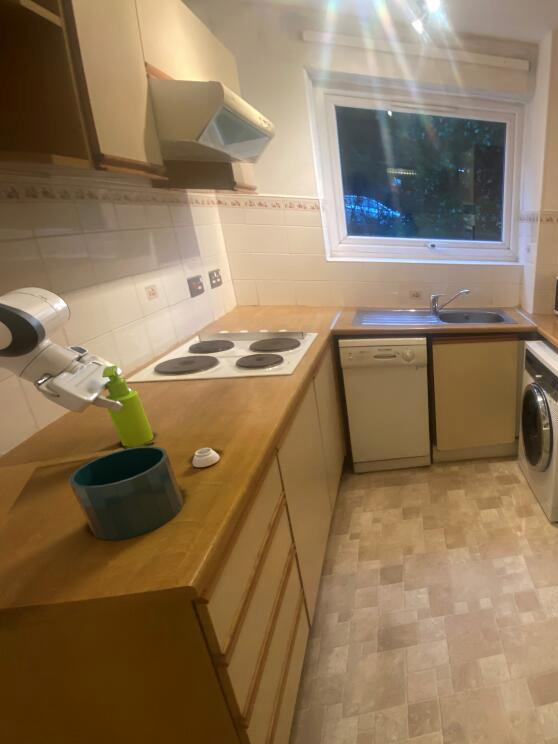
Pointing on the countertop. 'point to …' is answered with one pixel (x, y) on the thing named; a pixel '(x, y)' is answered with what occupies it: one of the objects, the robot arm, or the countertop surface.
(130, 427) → the soap dispenser
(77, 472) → the canister
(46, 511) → the countertop surface
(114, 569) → the countertop surface
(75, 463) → the countertop surface
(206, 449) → the white bowl
